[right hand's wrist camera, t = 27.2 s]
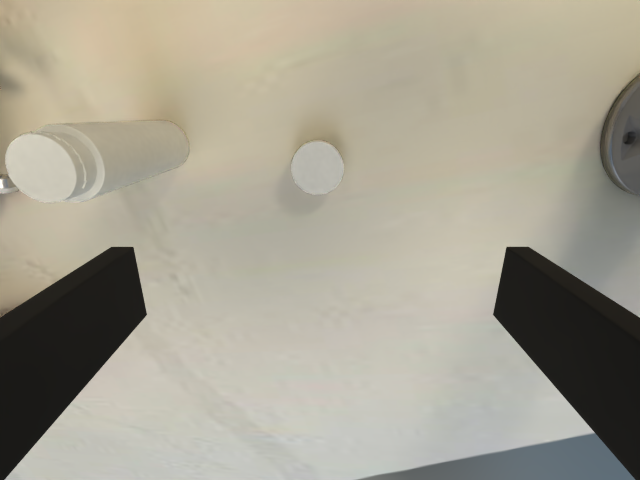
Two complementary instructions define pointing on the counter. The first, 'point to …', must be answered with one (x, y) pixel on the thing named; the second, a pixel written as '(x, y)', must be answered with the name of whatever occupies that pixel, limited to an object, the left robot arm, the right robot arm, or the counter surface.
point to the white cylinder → (317, 167)
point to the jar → (92, 157)
